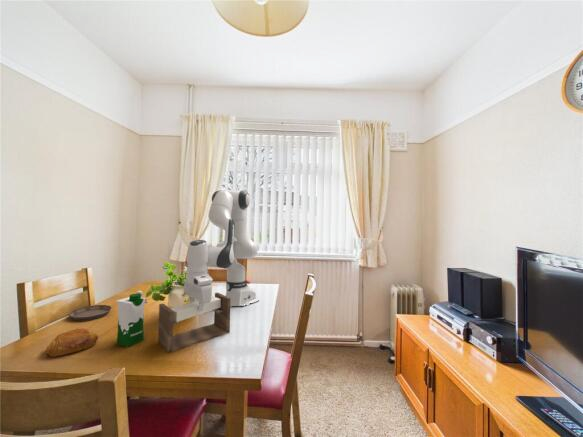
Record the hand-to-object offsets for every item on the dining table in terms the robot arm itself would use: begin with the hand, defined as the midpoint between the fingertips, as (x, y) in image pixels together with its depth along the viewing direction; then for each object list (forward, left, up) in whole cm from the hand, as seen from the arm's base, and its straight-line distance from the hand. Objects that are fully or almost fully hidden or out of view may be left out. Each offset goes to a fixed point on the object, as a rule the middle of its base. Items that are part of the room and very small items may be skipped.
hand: (196, 308), depth 113 cm
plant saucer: (+30, -60, -13) cm, 68 cm away
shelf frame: (0, 0, -13) cm, 13 cm away
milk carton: (+22, -14, -13) cm, 29 cm away
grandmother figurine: (+11, -46, -13) cm, 49 cm away
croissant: (+40, -24, -13) cm, 48 cm away
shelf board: (0, 0, -2) cm, 2 cm away
